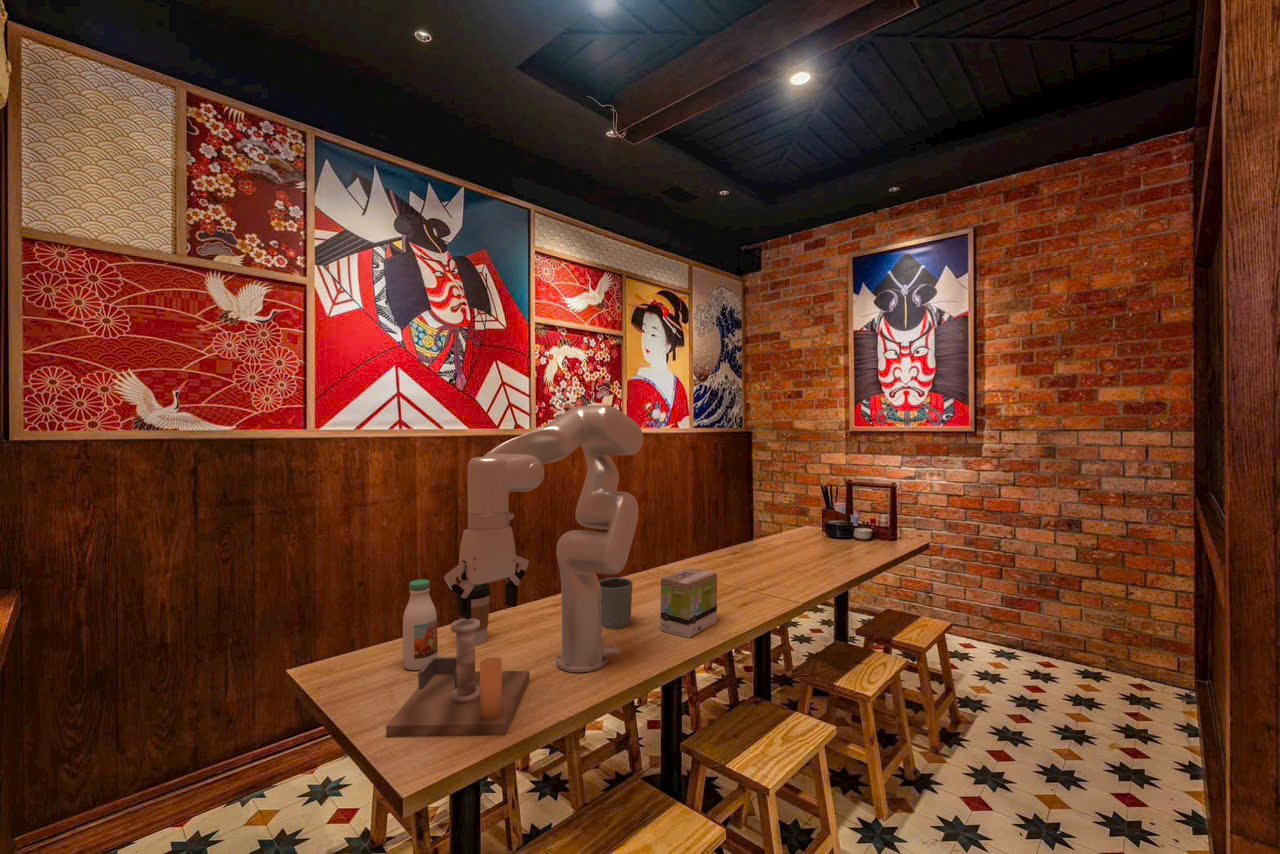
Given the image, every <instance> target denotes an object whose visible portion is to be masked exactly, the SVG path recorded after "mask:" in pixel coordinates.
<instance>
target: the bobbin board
mask: <svg viewBox="0 0 1280 854" xmlns="http://www.w3.org/2000/svg"><path fill="white" fill-rule="evenodd" d="M479 627H480V621H479V620H478V619H474V618H470V619H468V620H467V619H461V618H460V619H458V620H454V621H453V622H451V623H450V632H452V633H455V636H456V637H455V638H456V639H455V641H456V643H455V644H456V657H457V689H455V675H454V674H434V676H433V677H432V678H431V679H430V680H429V682H428V683H427V684H426V685H425V686H424V688H423V689H419V687H418V686H417V688H416V690H415V691H414V692H413V693H412V695H410V697H408V699H407V700H406V702H405V703H403V705H402V706H401V707H400V709H399V710H398V711H397V712H396V714H394V716H393V717H392V718H391V719H390V721H389V722H388V723H387V724H386V725H385V732H386V735H385V736H386V737H387V736H389V737H390V736H392V737H431V736H432V737H444V736H447V737H449V736H496V735H495V734H506V735H507V733H508V730H509V728H508V727H510V726H509V725H511V724H512V721H511V720H513V719H514V716H515V714H516V712H517V709H518V706H519V704H520V703H521V700H522V698H523V695H524V693H525V690H526V688H527V686H528V683H529V681H530V670H502V715H501V716H500V717H498V718H496V719H492V720H485V719H482V718H481V704H480V671H476V645H475V630H477V629H479ZM512 718H513V719H512ZM506 732H507V733H506ZM493 734H494V735H493ZM389 737H387V738H389Z"/></svg>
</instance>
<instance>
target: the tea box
mask: <svg viewBox="0 0 1280 854" xmlns="http://www.w3.org/2000/svg"><path fill="white" fill-rule="evenodd" d="M717 621H718V572H715V571H709V570H704V569H703V570H702V569H697V568H691V567H688V568H686V569H683V570H680V571H677V572H676V573H672V574H670V575H666V576H664V577H661V578H660V626H659V627H660V628H659V629H660V631H662V632H666V633H668V634H671V635H677V636H679V637H684V638H686V639H687V638H688V639H690V638H692V637H693V636H694V635H696V634H698V633H700V632H702V631H703V630H705V629H707V628H709V627H711V626H712V625H715V624H717Z"/></svg>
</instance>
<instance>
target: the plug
mask: <svg viewBox="0 0 1280 854" xmlns="http://www.w3.org/2000/svg"><path fill="white" fill-rule="evenodd" d="M502 662H503V661H502V659H501V658H499V657H493V656H492V657H487V658H484V659H482V660H481V661H480V662H479V672H480V704H481V718H482V719H485V720H492V719H496V718H498V717H500V716H501V715H502V671H503V670H502V667H503V665H502V664H503V663H502Z"/></svg>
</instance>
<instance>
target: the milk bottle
mask: <svg viewBox="0 0 1280 854" xmlns="http://www.w3.org/2000/svg"><path fill="white" fill-rule="evenodd" d="M408 585H409V587H408V588H409V591H408V592H409V593H410V595H409V599H408V603H407V604H406V607H405V609H404V612H403V615H402V616H403V618H402V662H403V668H404V669H406V670H409V671H420V670H421V669H422V668H423V667H424V666H425V664H426V663H427V662H428V661H429V660H430V659H431V658H432V657H439V652H438V651H439V650H438V649H439V647H438V618H437V617H438V616H437V610H436V607H435V605H434V602H433V600H432V598H431V595H430V586H431V582H430V580H429V579H415V580H412V581H410V582H409V584H408Z"/></svg>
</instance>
